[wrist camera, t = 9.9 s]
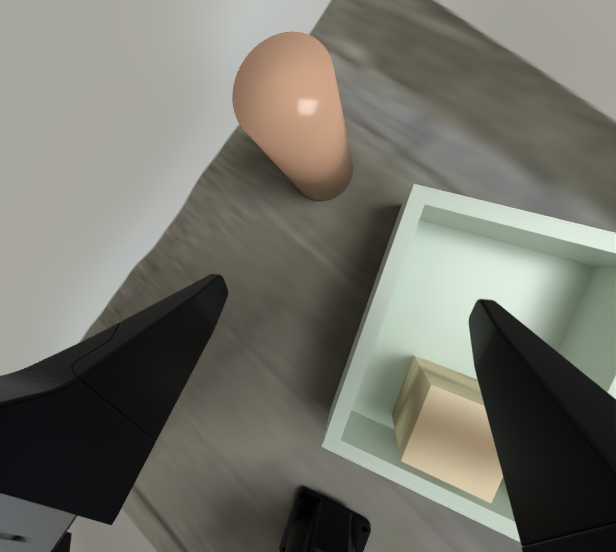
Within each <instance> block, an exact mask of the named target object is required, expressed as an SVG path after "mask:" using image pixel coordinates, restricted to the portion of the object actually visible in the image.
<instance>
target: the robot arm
mask: <svg viewBox="0 0 616 552" xmlns="http://www.w3.org/2000/svg"><path fill="white" fill-rule="evenodd" d="M227 296H228V289H227V287H226V284H225V281H224V279H223V277H222V276H221V275H217V274H211V275H209V276H207V277H205V278H203V279H201V280H199V281H197V282H195V283H193V284H192V285H190V286H188V287H186V288H184V289H182V290H180V291H178V292H176V293H174V294H173V295H171V296H169V297H167V298H165V299H163V300H161V301H159V302H157V303H156V304H154V305H152V306H150V307H148V308H146V309H144V310H142V311H140V312H139V313H137V314H135V315H133V316H131V317H129V318H127V319H125V320H123V321H122V322H121V323H118V324H116V325H114V326H112V327H110V328H108V329H106V330H104V331H102V332H100V333H98V334H97V335H95V336H93V337H91V338H89V339H86V340H84V341H82V342H80V343H78V344H76V345H74V346H72V347H70V348H68V349H65V350H63V351H61V352H59V353H57V354H55V355H53V356H50V357H48V358H46V359H44V360H42V361H40V362H38V363H36V364H33V365H31V366H29V367H27V368H24V369H22V370H19V371H16V372H13V373H10V374H7V375H3V376H0V552H70V543H71V533H69V532H67V530H68V529H69V528H70V526H71V525H72V523H73V522H74V520H75V519H76V517H77V516H81V517H85V518H88V519H91V520H95V521H99V522H102V523H105V524H109V525H112V524H113V522H114V520H115V519H116V517H117V515H118V513H119V512H120V510H121V508H122V506H123V504H124V502H125V500H126V498H127V496H128V494H129V492H130V491H131V489H132V487H133V485H134V483H135V481H136V479H137V477H138V475H139V473H140V471H141V469H142V467H143V466H144V464H145V462H146V460H147V458H148V456H149V454H150V452H151V450H152V448H153V446H154V444H155V443H156V440H157V438H158V436H159V435H160V433H161V431H162V429H163V427H164V425H165V423H166V421H167V419H168V417H169V415H170V413H171V412H172V410H173V408H174V406H175V404H176V402H177V400H178V398H179V396H180V394H181V392H182V390H183V389H184V387H185V385H186V383H187V381H188V379H189V377H190V375H191V373H192V371H193V369H194V367H195V366H196V364H197V362H198V360H199V358H200V356H201V354H202V352H203V350H204V348H205V346H206V344H207V343H208V341H209V339H210V337H211V335H212V333H213V331H214V329H215V326H216V324H217V322H218V319H219V317H220V314H221V312H222V309H223V306H224V304H225V301H226V299H227ZM468 323H469V331H470V339H471V346H472V354H473V361H474V368H475V372H476V376H477V380H478V384H479V387H480V391H481V395H482V399H483V402H484V406H485V410H486V414H487V418H488V421H489V425H490V429H491V433H492V437H493V440H494V444H495V448H496V452H497V455H498V459H499V463H500V467H501V471H502V474H503V478H504V482H505V486H506V490H507V493H508V497H509V501H510V505H511V508H512V512H513V516H514V520H515V524H516V527H517V531H518V535H519V539H520V543H521V545H522V551H523V552H616V399H615V398H614V397H613V396H611V395H610V394H609V393H608V392H606V391H605V390H604V389H603V388H601V387H600V386H599V385H598V384H597V383H595V382H594V381H593V380H592V379H590V378H589V377H588V376H587V375H585V374H584V373H583V372H582V371H581V370H579V369H578V368H577V367H576V366H574V365H573V364H572V363H571V362H570V361H568V360H567V359H566V358H565V357H563V356H562V355H561V354H560V353H558V352H557V351H556V350H555V349H554V348H552V347H551V346H550V345H549V344H547V343H546V342H545V341H544V340H542V339H541V338H540V337H539V336H538V335H536V334H535V333H534V332H533V331H531V330H530V329H529V328H528V327H526V326H525V325H524V324H523V323H522V322H520V321H519V320H518V319H517V318H515V317H514V316H513V315H512V314H510V313H509V312H508V311H507V310H506V309H504V308H503V307H502V306H501V305H499V304H498V303H497V302H496V301H494V300H489V299H478V300H477V301H476V303H475V305H474V307H473V309H472V312H471V314H470V316H469V322H468ZM302 494H305V495H306V496H304V495H302ZM363 526H365V527H363ZM370 532H371V525H370V522H369V521H368V520H367V519H365V518H363V517H361V516H359V515H357V514H355V513H353V512H351V511H349V510H347V509H346V508H344V507H342V506H340V505H338V504H336V503H334V502H332V501H330V500H328V499H326V498H324V497H323V496H321V495H319V494H317V493H315V492H313V491H311V490H309V489H307V488H305V487H302V488H300V489H299V492H298V495H297V498H296V501H295V503H294V506H293V509H292V512H291V515H290V518H289V521H288V524H287V526H286V529H285V532H284V535H283V538H282V541H281V544H280V548H279V550H280V552H363V550H364V548H365V545H366V543H367V540H368V537H369V535H370Z"/></svg>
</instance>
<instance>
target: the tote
mask: <svg viewBox="0 0 616 552" xmlns="http://www.w3.org/2000/svg"><path fill="white" fill-rule="evenodd" d="M478 299H489V300H494V301H496V302H497V303H498V304H499V305H501V306H502V307H503V308H504V309H506V310H507V311H508V312H509V313H510V314H512V315H513V316H514V317H515V318H517V319H518V320H519V321H520V322H522V323H523V324H524V325H525V326H526V327H528V328H529V329H530V330H531V331H533V332H534V333H535V334H536V335H538V336H539V337H540V338H541V339H542V340H544V341H545V342H546V343H547V344H549V345H550V346H551V347H552V348H554V349H555V350H556V351H557V352H558V353H560V354H561V355H562V356H563V357H565V358H566V359H567V360H568V361H570V362H571V363H572V364H573V365H574V366H576V367H577V368H578V369H579V370H581V371H582V372H583V373H584V374H585V375H587V376H588V377H589V378H590V379H592V380H593V381H594V382H595V383H597V384H598V385H599V386H600V387H601V388H603V389H604V390H605V391H606V392H608V393H609V394H610V395H611V396H613V397H614V398H615V399H616V233H614V232H610V231H605V230H601V229H597V228H593V227H589V226H585V225H581V224H577V223H573V222H568V221H564V220H560V219H556V218H552V217H548V216H544V215H540V214H536V213H531V212H527V211H523V210H519V209H515V208H511V207H507V206H503V205H499V204H494V203H490V202H486V201H482V200H478V199H474V198H470V197H466V196H462V195H457V194H453V193H449V192H445V191H441V190H437V189H433V188H429V187H425V186H420V185H416V184H413V186H412V188H411V189H410V191H409V193H408V194H407V196H406V198H405V200H404V201H403V203H402V205H401V208H400V210H399V213H398V216H397V219H396V222H395V225H394V228H393V231H392V233H391V236H390V239H389V242H388V245H387V248H386V251H385V253H384V256H383V259H382V262H381V265H380V268H379V271H378V274H377V276H376V279H375V282H374V285H373V288H372V291H371V294H370V297H369V299H368V302H367V305H366V308H365V311H364V314H363V317H362V319H361V322H360V325H359V328H358V331H357V334H356V337H355V340H354V342H353V345H352V348H351V351H350V354H349V357H348V360H347V363H346V365H345V368H344V371H343V374H342V377H341V380H340V383H339V385H338V388H337V391H336V394H335V397H334V400H333V403H332V406H331V409H330V413H329V418H328V422H327V426H326V430H325V435H324V439H323V443H322V447H323V448H325V449H327V450H329V451H331V452H333V453H336V454H338V455H340V456H342V457H344V458H346V459H348V460H350V461H352V462H354V463H356V464H358V465H361V466H363V467H365V468H367V469H369V470H371V471H373V472H375V473H377V474H379V475H381V476H383V477H386V478H388V479H390V480H392V481H394V482H396V483H398V484H400V485H402V486H404V487H406V488H408V489H410V490H413V491H415V492H417V493H419V494H421V495H423V496H425V497H427V498H429V499H431V500H433V501H435V502H438V503H440V504H442V505H444V506H446V507H448V508H450V509H452V510H454V511H456V512H458V513H460V514H463V515H465V516H467V517H469V518H471V519H473V520H475V521H477V522H479V523H481V524H483V525H485V526H487V527H490V528H492V529H494V530H496V531H498V532H500V533H502V534H504V535H506V536H508V537H510V538H512V539H515V540H517V541H519V542H520V539H519V535H518V531H517V527H516V524H515V520H514V516H513V512H512V508H511V505H510V501H509V497H508V493H507V490H506V486H505V482H504V478H502V480H501V483H500V485H499V487H498V489H497V492H496V494H495V496H494V498H493V501H492V503H489V502H487V501H485V500H483V499H481V498H478V497H476V496H474V495H472V494H470V493H468V492H466V491H464V490H461V489H459V488H457V487H455V486H453V485H451V484H449V483H446V482H444V481H442V480H440V479H438V478H436V477H434V476H432V475H429V474H427V473H425V472H423V471H421V470H419V469H417V468H414V467H412V466H410V465H408V464H406V463H404V462H402V461H401V459H400V454H399V449H398V444H397V439H396V434H395V428H394V423H393V418H392V411H393V409H394V406H395V403H396V401H397V398H398V396H399V393H400V390H401V388H402V385H403V383H404V380H405V377H406V375H407V372H408V370H409V367H410V364H411V362H412V359H413V357H414V355H415V356H417V357H420V358H422V359H425V360H428V361H430V362H433V363H436V364H438V365H441V366H443V367H446V368H449V369H451V370H454V371H456V372H459V373H462V374H464V375H467V376H470V377H472V378H475V379H477V376H476V372H475V368H474V361H473V354H472V346H471V339H470V331H469V323H468V322H469V316H470V314H471V312H472V309H473V307H474V305H475V303H476V301H477V300H478Z"/></svg>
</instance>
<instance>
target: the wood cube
mask: <svg viewBox="0 0 616 552" xmlns="http://www.w3.org/2000/svg"><path fill="white" fill-rule="evenodd" d="M392 418H393V423H394V428H395V434H396V439H397V444H398V449H399V454H400V459H401V461H402V462H404V463H406V464H408V465H410V466H412V467H414V468H417V469H419V470H421V471H423V472H425V473H427V474H429V475H432V476H434V477H436V478H438V479H440V480H442V481H444V482H446V483H449V484H451V485H453V486H455V487H457V488H459V489H461V490H464V491H466V492H468V493H470V494H472V495H474V496H476V497H478V498H481V499H483V500H485V501H487V502H489V503H492V501H493V498H494V496H495V494H496V492H497V489H498V487H499V485H500V483H501V480H502V478H503V474H502V471H501V467H500V463H499V459H498V455H497V452H496V448H495V444H494V440H493V437H492V433H491V429H490V425H489V421H488V418H487V414H486V410H485V406H484V402H483V399H482V395H481V391H480V387H479V384H478V380H477V379H475V378H472V377H470V376H467V375H464V374H462V373H459V372H456V371H454V370H451V369H449V368H446V367H443V366H441V365H438V364H436V363H433V362H430V361H428V360H425V359H422V358H420V357H417V356H415V355H414V357H413V359H412V362H411V364H410V367H409V370H408V372H407V375H406V377H405V380H404V383H403V385H402V388H401V390H400V393H399V396H398V398H397V401H396V403H395V406H394V409H393V411H392Z"/></svg>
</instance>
